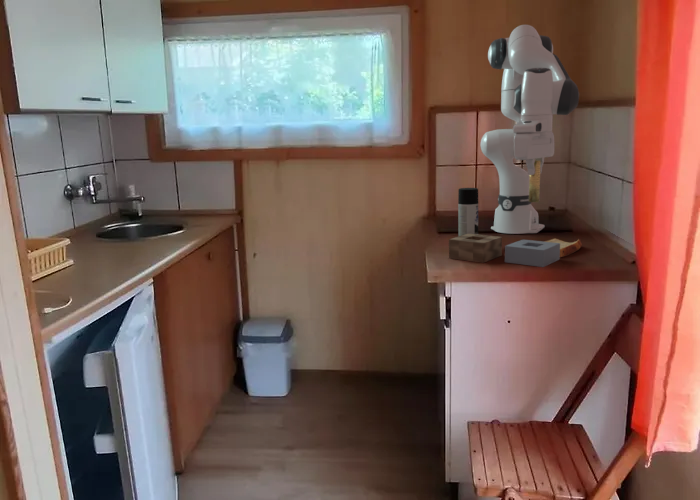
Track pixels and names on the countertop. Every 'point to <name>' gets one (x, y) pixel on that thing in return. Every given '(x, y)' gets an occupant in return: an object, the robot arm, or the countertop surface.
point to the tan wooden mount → (475, 247)
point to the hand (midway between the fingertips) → (534, 174)
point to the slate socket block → (532, 253)
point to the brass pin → (535, 183)
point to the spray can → (468, 211)
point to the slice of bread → (567, 246)
